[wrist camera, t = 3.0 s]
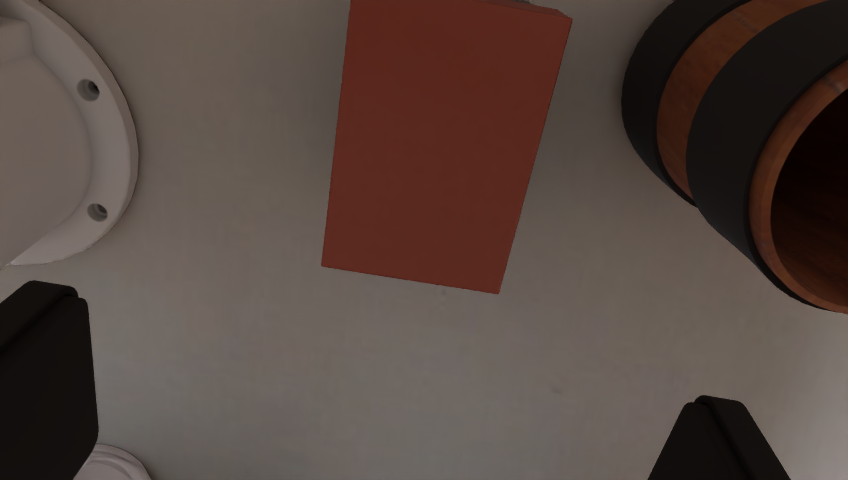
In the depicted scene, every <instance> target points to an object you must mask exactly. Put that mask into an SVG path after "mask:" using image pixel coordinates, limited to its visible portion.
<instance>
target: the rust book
mask: <svg viewBox="0 0 848 480" xmlns="http://www.w3.org/2000/svg"><path fill="white" fill-rule="evenodd" d="M571 24H572V18H570V17H568V16H567V15H565V14H564V13H562V12H560V11H559V10H557V9H552V8H547V7H542V6H536V5H531V4H526V3H520V2H515V1H510V0H351V2H350V11H349V20H348V29H347V38H346V47H345V56H344V65H343V74H342V83H341V92H340V101H339V110H338V119H337V128H336V137H335V146H334V155H333V164H332V173H331V182H330V191H329V200H328V209H327V218H326V227H325V236H324V245H323V254H322V263H321V266H322V267H328V268H334V269H341V270H347V271H354V272H360V273H366V274H373V275H379V276H385V277H392V278H398V279H404V280H411V281H417V282H424V283H430V284H436V285H443V286H449V287H455V288H462V289H468V290H474V291H481V292H487V293H493V294H499V292H500V288H501V284H502V280H503V277H504V273H505V269H506V266H507V262H508V258H509V254H510V251H511V247H512V243H513V240H514V236H515V232H516V228H517V225H518V221H519V217H520V214H521V210H522V206H523V202H524V199H525V195H526V191H527V187H528V184H529V180H530V176H531V173H532V169H533V165H534V161H535V158H536V154H537V150H538V147H539V143H540V139H541V135H542V132H543V128H544V124H545V121H546V117H547V113H548V109H549V106H550V102H551V98H552V95H553V91H554V87H555V83H556V80H557V76H558V72H559V69H560V65H561V61H562V57H563V54H564V50H565V46H566V43H567V39H568V35H569V31H570V28H571Z"/></svg>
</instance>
